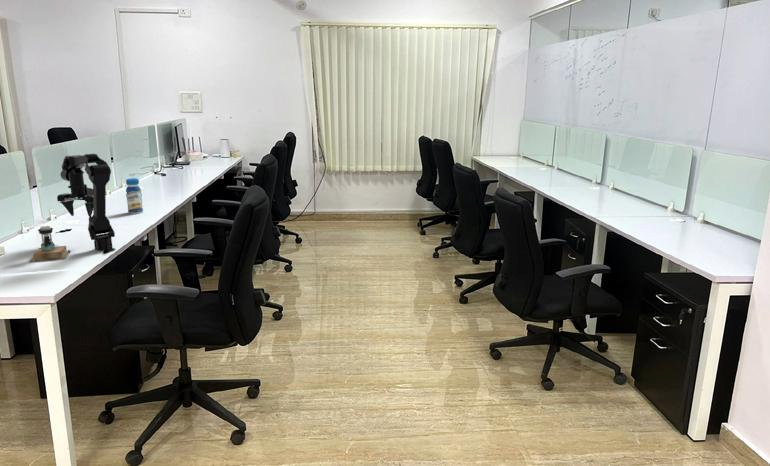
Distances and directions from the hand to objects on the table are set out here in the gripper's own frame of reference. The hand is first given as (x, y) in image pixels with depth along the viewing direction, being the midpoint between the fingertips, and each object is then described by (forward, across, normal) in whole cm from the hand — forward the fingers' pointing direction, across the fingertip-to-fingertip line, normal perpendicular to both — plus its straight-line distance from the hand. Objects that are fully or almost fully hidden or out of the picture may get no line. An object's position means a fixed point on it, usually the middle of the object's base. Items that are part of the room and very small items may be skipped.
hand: (81, 216), depth 254 cm
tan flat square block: (+12, -4, +25) cm, 28 cm away
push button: (+9, -4, +25) cm, 27 cm away
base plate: (+13, -4, +25) cm, 28 cm away
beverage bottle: (+13, +20, -67) cm, 71 cm away
